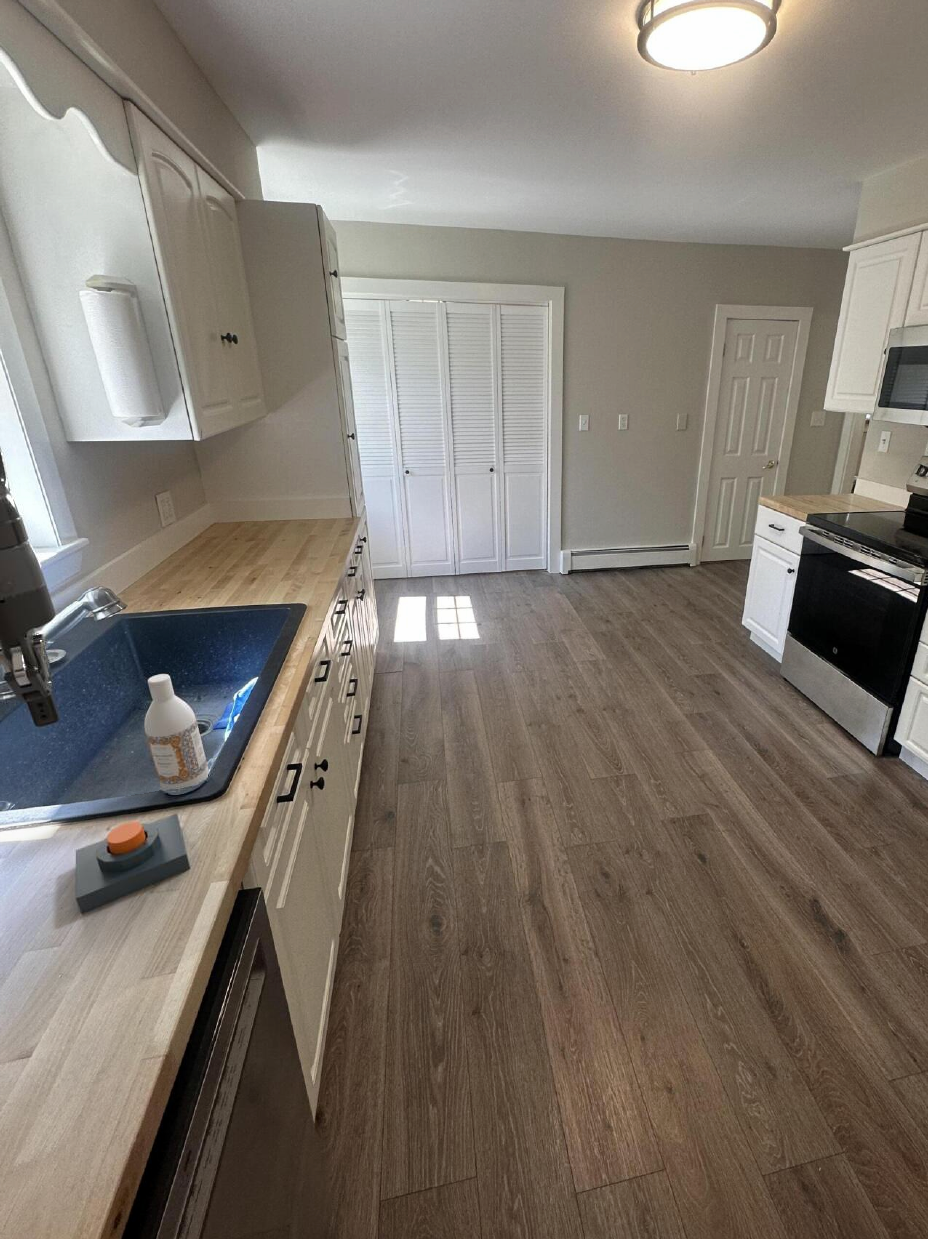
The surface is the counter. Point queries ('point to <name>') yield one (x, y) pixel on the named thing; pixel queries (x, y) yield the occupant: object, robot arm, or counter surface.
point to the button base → (129, 865)
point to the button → (126, 838)
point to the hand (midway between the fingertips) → (47, 722)
